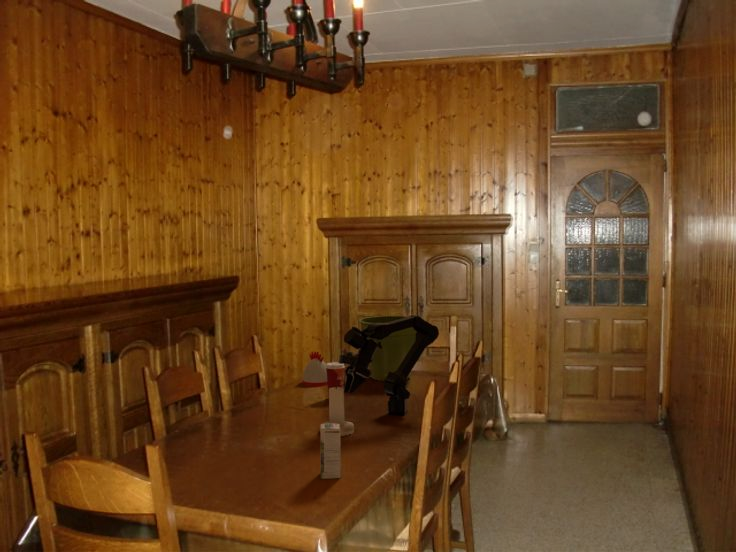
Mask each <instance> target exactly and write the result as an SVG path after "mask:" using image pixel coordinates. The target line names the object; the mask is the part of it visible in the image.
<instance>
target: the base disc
mask: <svg viewBox="0 0 736 552" xmlns="http://www.w3.org/2000/svg"><path fill="white" fill-rule="evenodd" d="M328 423H330V421H325V422H322V424H328ZM354 432H355V424H353V422H352V421H351V422H350V421H345V420H344V426H342V427H340V437H346V436H350V435H353V433H354ZM319 433H320V434H321V424H319ZM349 434H350V435H349ZM345 435H346V436H345Z"/></svg>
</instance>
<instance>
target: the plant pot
mask: <svg viewBox="0 0 736 552" xmlns="http://www.w3.org/2000/svg"><path fill="white" fill-rule="evenodd" d="M409 316H410V315H408V316H407V315H380V316H379V315H377V316H370V317H368V316H367V317H363V318H359V320H358V321H359V323H360V331H362V330H364V329H366V328H367V327H368V325H369V324H371V323H388V322H391V321H395V320H398V319H402V318H405V317H409ZM415 338H416V331H415V330H414V329H413V327H411V328H407V329H404V330H400V331H397V332H393V333H391V334H390V335H389V336H388V337H386V338H384V339H382V340H378V339H372V338H367V339H368V340H369V339H372V340H374V341H376V342H377V341H379V342H381V345H382V349H379V348H377V349H376V351H375V353H374V355H373V358H372V363H370V364H369V366H368V368H369V370H370V371H371V375H370V378H372V379H373V380H375V381H379V382H384V381H385V380H384V379H385V378H386V377H387V375H388V373H389V372H393V373H394V372H395V371H396V370H397V369H398V367H399V366H400V364H401V363H402V361H403V360H404V358H405V356H406V355H407V353H408V352H409V350H410V349H411V347H412V345H413V344H414V342H415ZM411 372H412V371H411ZM411 372H410V374H409V375H408V377H407V380H408V378H409V379H410V378H411Z"/></svg>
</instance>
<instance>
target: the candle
mask: <svg viewBox="0 0 736 552" xmlns="http://www.w3.org/2000/svg"><path fill="white" fill-rule="evenodd" d="M328 401H329V402H328V404H329V406H328V408H329V409H328V411H329V422H330V423H334V424H340V427H342V426H344V421H345V392H344V387H343V388H342V387H337V386H336V387H332V388H329V397H328Z"/></svg>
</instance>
